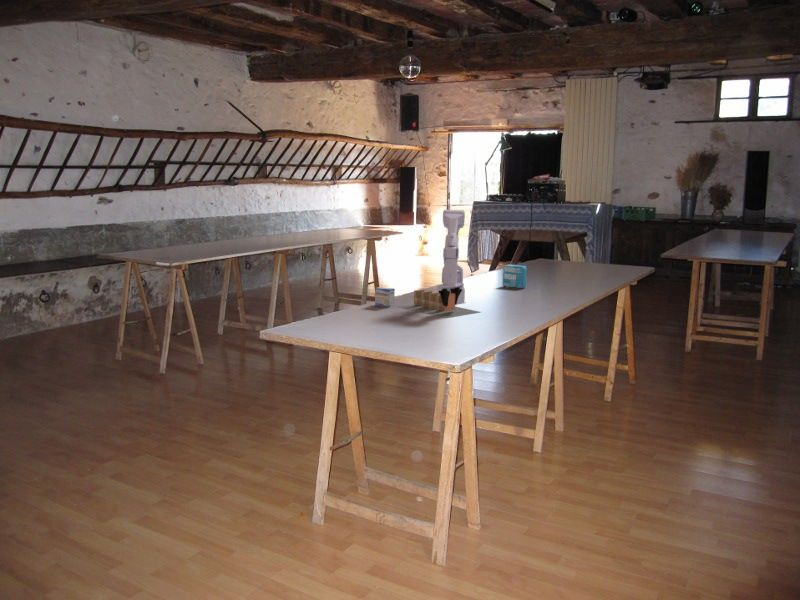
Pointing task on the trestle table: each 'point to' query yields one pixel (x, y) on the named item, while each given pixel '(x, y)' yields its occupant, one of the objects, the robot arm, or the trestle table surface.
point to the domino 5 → (450, 303)
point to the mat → (443, 314)
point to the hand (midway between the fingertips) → (449, 305)
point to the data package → (514, 276)
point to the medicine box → (384, 297)
